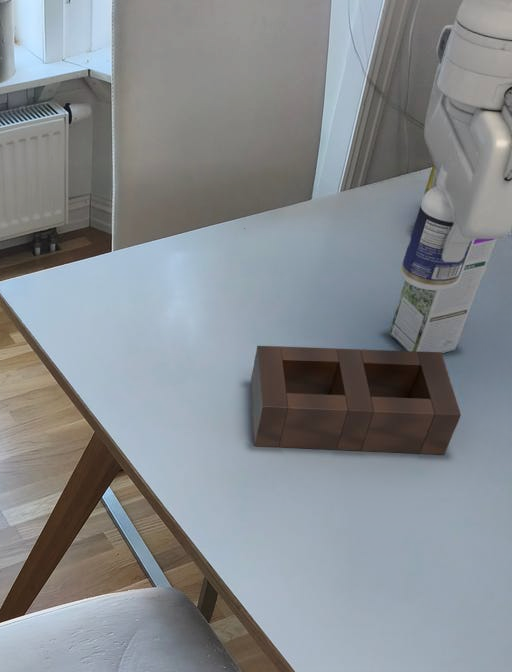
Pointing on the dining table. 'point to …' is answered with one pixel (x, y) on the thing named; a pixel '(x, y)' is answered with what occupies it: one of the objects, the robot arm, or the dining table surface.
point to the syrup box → (440, 307)
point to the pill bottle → (432, 243)
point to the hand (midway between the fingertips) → (442, 239)
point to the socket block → (352, 400)
